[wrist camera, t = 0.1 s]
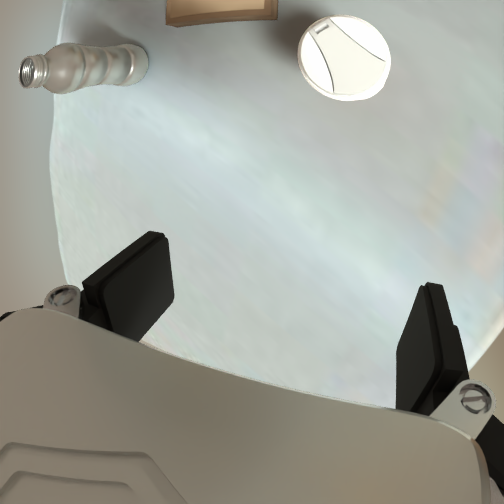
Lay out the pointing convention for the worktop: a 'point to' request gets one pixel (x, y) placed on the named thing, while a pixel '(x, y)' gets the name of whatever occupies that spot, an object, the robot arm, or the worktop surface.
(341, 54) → the paper cup
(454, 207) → the worktop surface
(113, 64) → the plastic bottle
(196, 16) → the plinth
